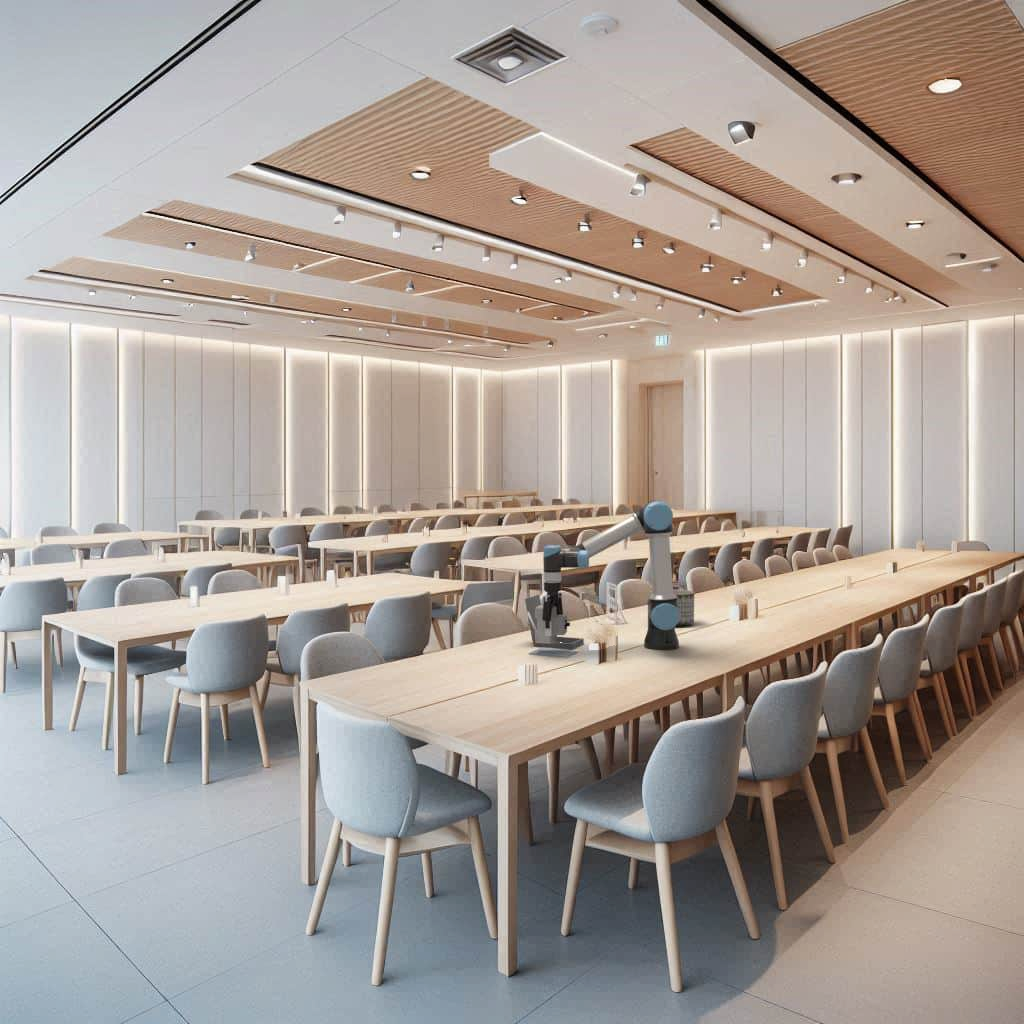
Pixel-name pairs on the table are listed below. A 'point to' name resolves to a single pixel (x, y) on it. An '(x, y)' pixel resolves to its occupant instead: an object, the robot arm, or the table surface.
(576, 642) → the case
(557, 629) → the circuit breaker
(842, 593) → the table surface
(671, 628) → the robot arm
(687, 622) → the planter
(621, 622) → the film strip holder
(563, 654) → the mat
